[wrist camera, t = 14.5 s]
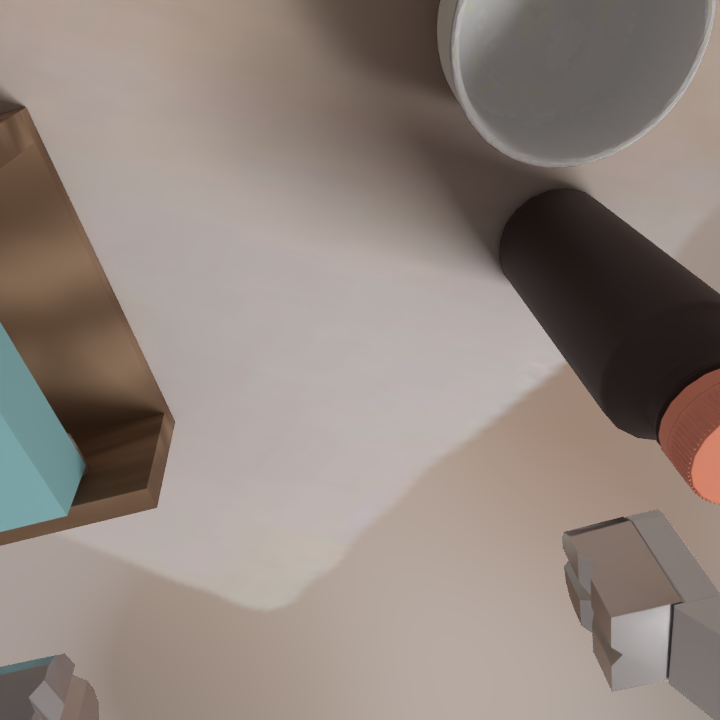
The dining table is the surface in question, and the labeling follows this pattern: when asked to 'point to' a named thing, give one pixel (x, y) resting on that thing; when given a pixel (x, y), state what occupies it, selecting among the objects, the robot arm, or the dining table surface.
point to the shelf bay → (75, 340)
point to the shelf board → (31, 449)
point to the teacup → (569, 71)
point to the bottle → (624, 324)
